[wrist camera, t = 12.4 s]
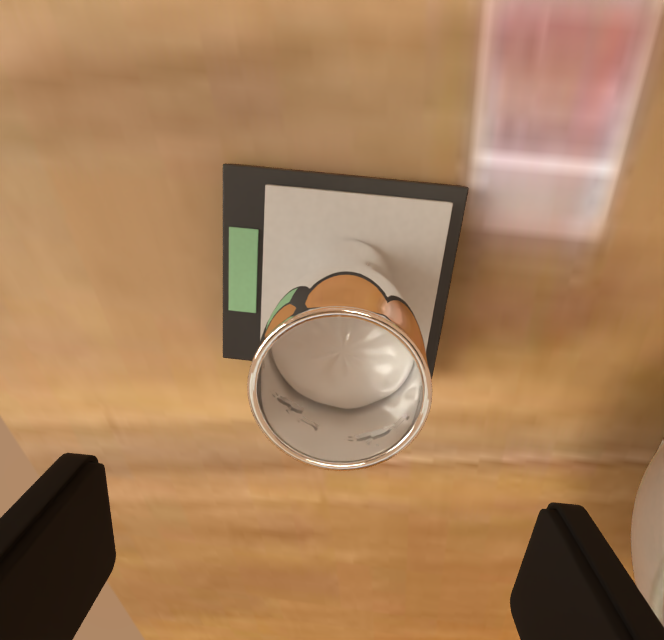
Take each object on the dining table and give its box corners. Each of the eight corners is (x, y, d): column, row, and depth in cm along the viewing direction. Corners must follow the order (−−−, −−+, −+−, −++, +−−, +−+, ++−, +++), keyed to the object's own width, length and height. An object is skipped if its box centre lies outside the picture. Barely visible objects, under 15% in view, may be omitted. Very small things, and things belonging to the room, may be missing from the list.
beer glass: (375, 344, 30) (390, 499, 16) (284, 311, 30) (218, 440, 16) (416, 255, 28) (474, 345, 14) (317, 216, 28) (275, 270, 14)
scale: (230, 347, 34) (219, 362, 32) (231, 163, 29) (218, 163, 27) (427, 368, 34) (433, 385, 31) (462, 185, 29) (472, 187, 26)
